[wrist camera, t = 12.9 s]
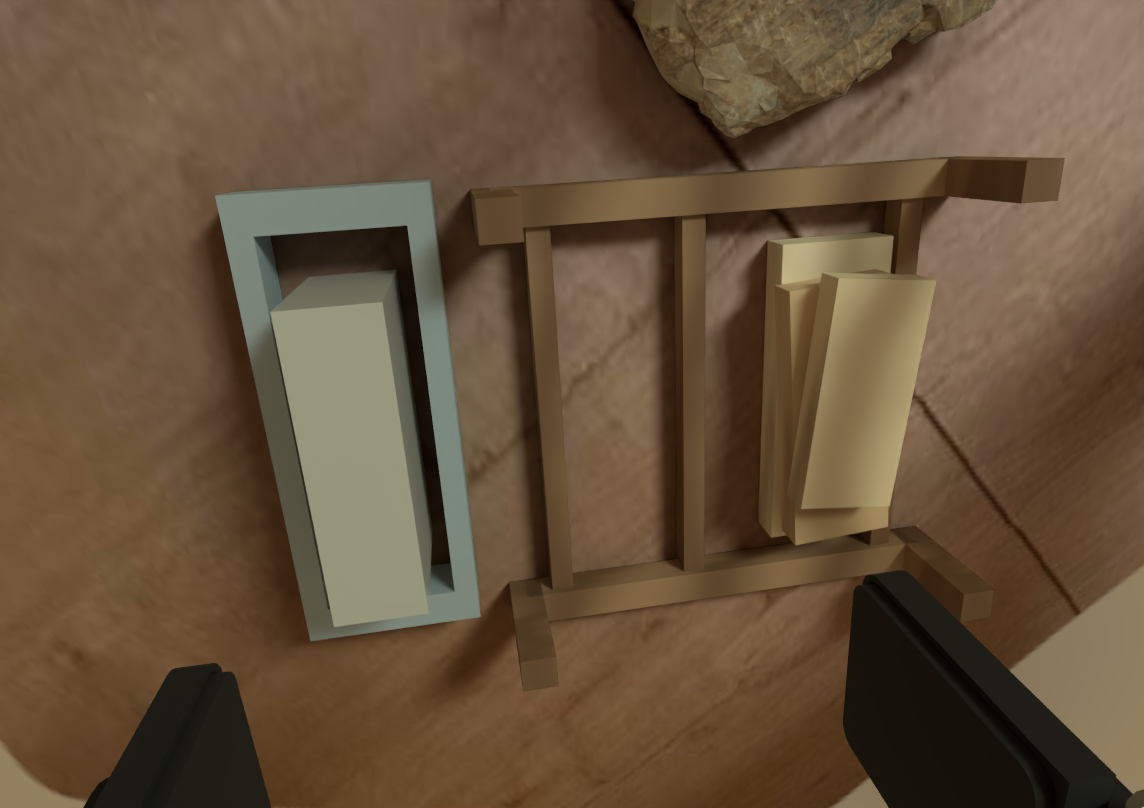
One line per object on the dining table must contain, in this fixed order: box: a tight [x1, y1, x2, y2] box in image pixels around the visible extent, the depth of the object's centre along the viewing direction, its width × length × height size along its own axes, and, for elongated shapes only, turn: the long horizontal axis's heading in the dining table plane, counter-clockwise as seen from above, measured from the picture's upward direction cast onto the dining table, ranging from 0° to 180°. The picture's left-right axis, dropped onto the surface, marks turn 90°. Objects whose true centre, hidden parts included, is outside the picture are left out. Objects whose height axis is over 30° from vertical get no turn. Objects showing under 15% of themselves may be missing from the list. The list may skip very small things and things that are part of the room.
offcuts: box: [758, 232, 936, 545], centre depth 33 cm, size 6×14×4 cm, turn 3°
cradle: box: [215, 179, 481, 641], centre depth 31 cm, size 8×19×2 cm, turn 3°
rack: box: [470, 156, 1065, 692], centre depth 32 cm, size 22×20×6 cm
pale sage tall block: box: [270, 269, 432, 627], centre depth 29 cm, size 4×12×7 cm, turn 3°
